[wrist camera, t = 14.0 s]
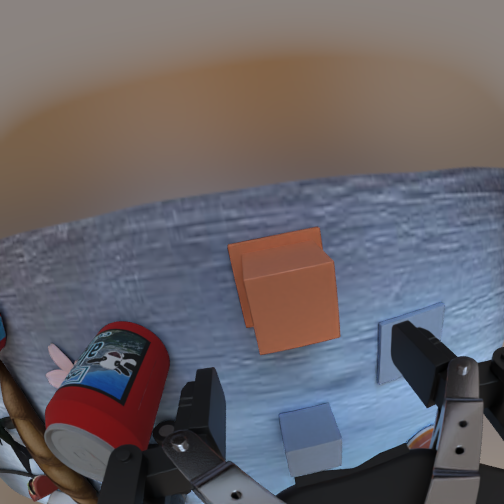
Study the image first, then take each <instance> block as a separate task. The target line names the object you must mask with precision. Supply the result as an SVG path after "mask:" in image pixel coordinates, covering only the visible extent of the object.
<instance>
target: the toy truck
mask: <svg viewBox="0 0 504 504" xmlns="http://www.w3.org/2000/svg"><path fill="white" fill-rule="evenodd" d="M5 343H6V333H5V329H4V326H3V322H2V318H1V313H0V351H1V350H2V349H3V348H4V347H5Z"/></svg>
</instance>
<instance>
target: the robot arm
mask: <svg viewBox="0 0 504 504" xmlns="http://www.w3.org/2000/svg"><path fill="white" fill-rule="evenodd" d="M391 358H392V361H393V363H394V365H395V366H396V368H397V369H398V370H399V372H400V373H401V374H402V376H403V377H404V378H405V379H406V381H407V382H408V383H409V385H410V386H411V387H412V389H413V390H414V391H415V393H416V394H417V395H418V397H419V398H420V399H421V401H422V402H423V403H424V405H425V406H426V408H429V407H431V406H433V405H435V404H436V405H437V406H438V409H437V413H436V418H435V424H434V429H433V434H432V438H431V443H430V446H429V449H428V448H415V449H409V448H408V446H407V445H406V443H404V444H402V445H399V446H397V447H394V448H392V449H389V450H387V451H384V452H381V453H379V454H378V455H376V456H374V457H373V458H371V459H369V460H368V461H366V462H364V463H363V464H361V465H359V466H357V467H355V468H350V469H340V470H326V471H320V472H316V473H312V474H307V475H303V476H298V477H294V479H295V485H293V486H291V487H288V488H287V489H285V490H283V491H282V492H280V493H278V494H277V495H276V496H275V495H274V494H272V493H271V492H269V491H268V490H267V489H265V488H264V487H263V486H261V485H260V484H259V483H258V482H256V481H255V480H254V479H252V478H251V477H250V476H249V475H247V474H246V473H245V472H244V471H242V470H241V469H240V468H239V467H238V466H236V465H235V464H234V463H233V462H231V461H228V462H226V401H225V396H224V392H223V389H222V386H221V384H220V381H219V378H218V375H217V372H216V369H215V368H214V367H211V368H205V369H198V370H197V372H196V379H195V381H192V382H187V384H186V385H185V386H184V388H183V389H182V391H181V395H180V400H179V405H178V406H179V407H178V410H177V415H176V420H175V426H174V431H173V432H172V433H170V434H169V435H168V436H166V438H165V439H164V440H163V443H162V445H160V446H158V447H155V448H151V449H147V450H144V451H141V450H140V448H139V447H137V446H135V445H132V444H125V445H121V446H119V447H117V448H116V449H114V450H113V451H112V452H111V454H110V456H109V459H108V463H107V467H106V470H105V474H104V478H103V482H102V486H101V490H100V494H99V493H98V492H97V497H98V502H97V504H170V501H171V504H185V501H186V494H183V495H181V494H176V493H180V492H184V491H187V490H190V489H191V490H192V491H193V492H194V493H195V494H196V495H197V496H198V497H199V498H200V499H201V500H202V502H203V503H204V504H504V469H500V468H496V467H492V466H488V465H485V464H481V463H480V454H481V444H482V430H483V414H484V415H485V416H486V418H487V419H488V420H489V421H490V423H491V424H492V425H493V427H494V428H495V430H496V431H497V432H498V433H499V435H500V436H501V438H502V439H503V441H504V347H501V348H498V349H497V350H495V351H494V353H493V356H492V360H489V361H484V362H480V363H477V362H476V361H475V360H474V359H472V358H470V357H466V356H460V357H457V356H456V355H455V354H454V353H453V352H452V351H451V350H450V349H449V348H447V347H446V346H445V345H444V344H443V343H442V342H440V340H439V339H438V338H437V337H435V336H434V335H433V334H432V333H431V332H430V331H429V330H426V329H424V328H421V327H418V328H417V327H415V326H414V325H413V324H412V323H411V322H410V321H409V320H406V321H403V322H400V323H397V324H394V325H393V326H392V332H391ZM0 472H1V473H12V474H18V475H23V476H27V477H31V478H34V477H36V476H37V475H33V474H32V476H31V475H30V474H29V473H26V472H21V471H16V470H5V469H0ZM173 494H175V495H173ZM171 495H172V496H171Z"/></svg>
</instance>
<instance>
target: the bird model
mask: <svg viewBox="0 0 504 504" xmlns="http://www.w3.org/2000/svg"><path fill="white" fill-rule="evenodd" d="M4 428H7V429H14V428H15V426H14V424H13V422H12V420H11V418H10V417H4V418H2V419H0V438H1V439H3V440H4V441H5V442H6V443H8V444H9V445H11V447H12V449H13V450H14V452H15V454H16V455H17V457H18V458H19V460H20V461H21V463H22V464H23V466H24V467H25V469H26V470H27V472H28V473H29V474H30V475H31V476H32V472H31V469H30V464H29V459H32V458H33V457H32V456H31V454H30V453H29V451H28V449H27V448H26V447H24V446H23V445H21V444H19V443H18V442H16V441H14V439H13V438H12V436H11V435H10V434H9V433H8V432H7V431H6V430H5V429H4ZM1 439H0V443H1ZM1 445H2V443H1ZM2 446H3V445H2ZM22 452H23V453H24V454H25V455H24V454H23V453H22Z"/></svg>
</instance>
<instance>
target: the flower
mask: <svg viewBox="0 0 504 504" xmlns="http://www.w3.org/2000/svg"><path fill="white" fill-rule="evenodd" d="M48 350H49V354H50V356H51V358H52V359H53V361H54V362H55V363H56V364H57V365H58V366H59V367H60V368H61V369H62V370H52V371H50V372H48V373H47V374H46V377H47V378H48V379H49V381H48V382H49V383H50V384H51V385H52V386H54V387H55V388H59V387H60V385H61V384H62V382H63V381H64V379H65V378H66V376H67V375H68V373H69V372H70V371H71V369H72V368H73V366H74V365H75V364H76V362H77V361H78V360H76V361H75V363H74V365H73V364H72V362H71V361H70V360H69V359H68V358H67V357H66V356H65V355H64V354H63V353H62V352H61V351H60V350H59V349H58V348H57V347H56V346H55V345H54V344H52V343H51V347H50V346H48Z"/></svg>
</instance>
